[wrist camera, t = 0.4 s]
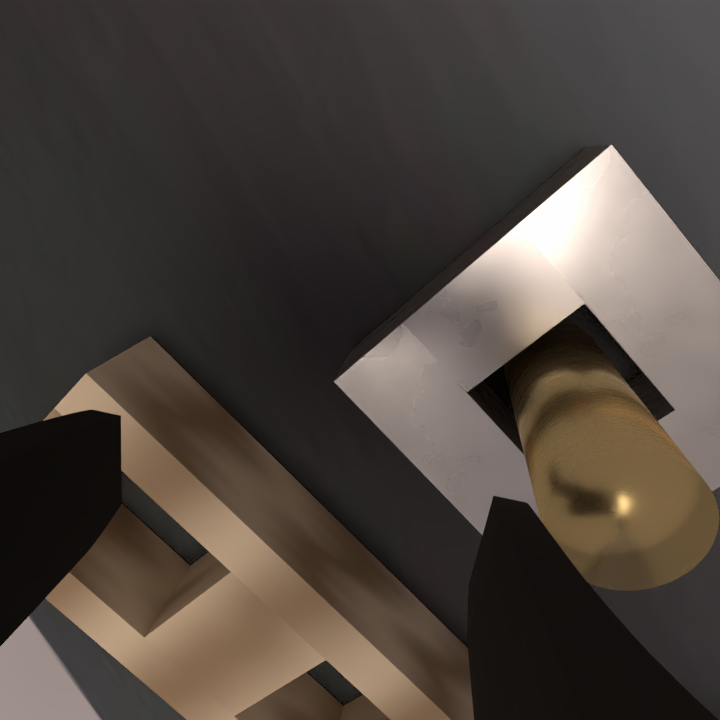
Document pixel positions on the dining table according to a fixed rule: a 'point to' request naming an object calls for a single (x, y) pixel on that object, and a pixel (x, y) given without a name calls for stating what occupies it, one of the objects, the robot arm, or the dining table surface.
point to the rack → (244, 574)
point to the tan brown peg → (606, 467)
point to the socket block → (533, 319)
